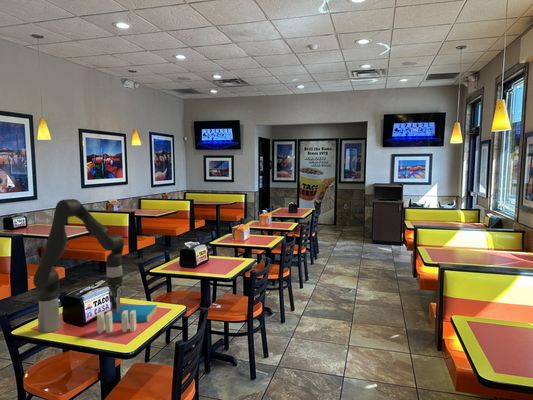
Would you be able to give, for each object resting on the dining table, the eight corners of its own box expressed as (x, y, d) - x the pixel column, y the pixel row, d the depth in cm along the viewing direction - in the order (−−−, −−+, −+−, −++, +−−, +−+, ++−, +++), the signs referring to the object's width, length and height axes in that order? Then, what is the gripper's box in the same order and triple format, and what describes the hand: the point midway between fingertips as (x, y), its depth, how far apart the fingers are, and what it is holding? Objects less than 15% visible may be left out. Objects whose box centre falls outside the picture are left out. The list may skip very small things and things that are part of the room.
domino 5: (130, 331, 200) (129, 313, 199) (132, 327, 204) (132, 310, 204) (134, 331, 200) (133, 313, 199) (136, 327, 205) (135, 309, 204)
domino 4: (122, 332, 199) (121, 314, 198) (124, 328, 204) (124, 310, 203) (126, 331, 199) (125, 313, 198) (128, 327, 204) (127, 310, 203)
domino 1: (97, 333, 198) (96, 315, 197) (101, 329, 203) (100, 311, 202) (101, 333, 198) (100, 315, 197) (104, 329, 203) (104, 311, 202)
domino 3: (112, 313, 188) (111, 294, 187) (115, 309, 193) (115, 290, 192) (116, 313, 188) (116, 294, 187) (119, 309, 193) (119, 290, 192)
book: (116, 304, 229) (156, 304, 228) (117, 311, 230) (157, 310, 229) (103, 315, 212) (147, 315, 211) (104, 323, 213) (147, 322, 212)
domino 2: (106, 332, 198) (105, 314, 197) (109, 328, 203) (108, 311, 202) (109, 332, 199) (109, 314, 198) (112, 328, 203) (111, 311, 202)
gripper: (111, 270, 195) (113, 302, 197) (102, 279, 181) (103, 312, 183) (126, 270, 196) (127, 301, 198) (118, 278, 182) (119, 312, 183)
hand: (116, 306), depth 190 cm, fingers closed on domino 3, 5 cm apart
